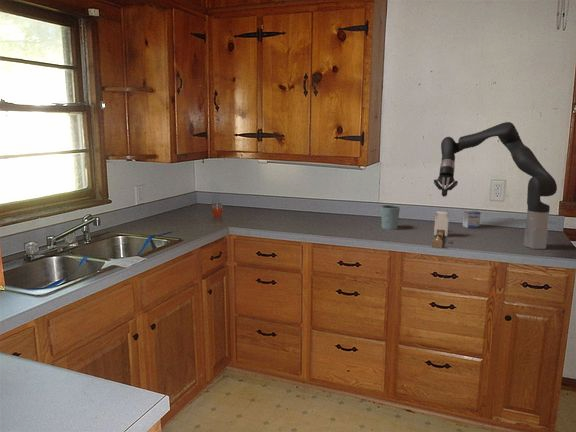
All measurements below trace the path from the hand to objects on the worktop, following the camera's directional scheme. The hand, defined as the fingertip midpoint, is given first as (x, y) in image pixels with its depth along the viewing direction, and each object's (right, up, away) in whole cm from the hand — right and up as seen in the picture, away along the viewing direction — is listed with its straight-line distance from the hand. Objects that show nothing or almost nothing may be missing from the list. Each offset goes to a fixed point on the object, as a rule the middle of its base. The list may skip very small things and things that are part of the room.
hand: (444, 195), depth 268 cm
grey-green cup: (-28, -18, +8) cm, 34 cm away
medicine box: (+18, -17, +11) cm, 27 cm away
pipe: (-5, -22, -16) cm, 28 cm away
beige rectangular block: (-4, -21, -9) cm, 23 cm away
